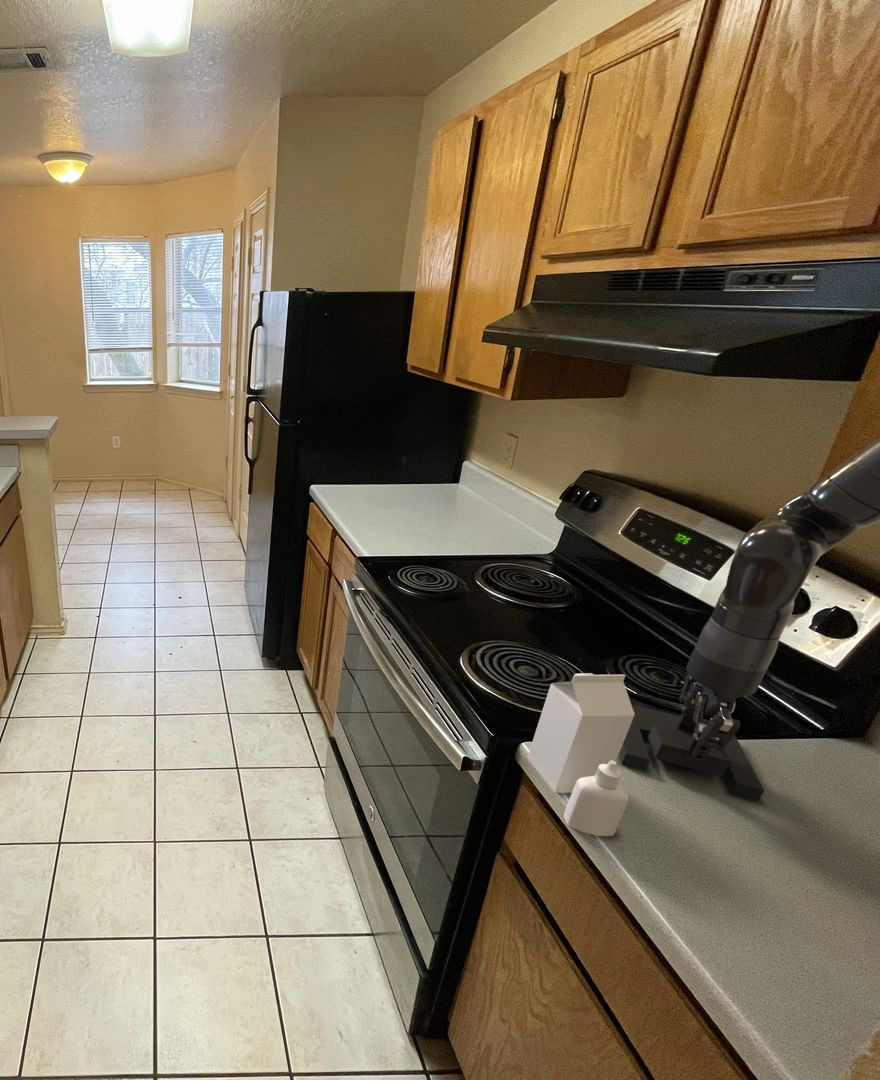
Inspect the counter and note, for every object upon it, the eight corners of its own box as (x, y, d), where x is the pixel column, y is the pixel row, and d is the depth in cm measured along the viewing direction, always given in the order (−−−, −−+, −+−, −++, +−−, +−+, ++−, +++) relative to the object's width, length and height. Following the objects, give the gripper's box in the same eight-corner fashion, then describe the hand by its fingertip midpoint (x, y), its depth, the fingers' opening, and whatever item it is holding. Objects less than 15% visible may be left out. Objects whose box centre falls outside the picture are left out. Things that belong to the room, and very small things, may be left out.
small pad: (712, 754, 90) (719, 738, 88) (723, 777, 86) (731, 761, 84) (647, 737, 93) (653, 722, 92) (654, 759, 89) (661, 743, 88)
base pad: (723, 742, 95) (731, 727, 94) (756, 805, 84) (764, 790, 83) (604, 712, 102) (610, 699, 101) (619, 768, 91) (625, 753, 89)
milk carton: (602, 796, 86) (644, 691, 78) (553, 797, 86) (591, 692, 78) (571, 759, 92) (607, 659, 85) (525, 760, 92) (557, 660, 85)
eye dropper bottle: (568, 807, 84) (592, 742, 79) (615, 831, 80) (643, 765, 76) (558, 825, 81) (583, 759, 77) (607, 851, 78) (636, 783, 73)
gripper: (789, 690, 74) (737, 790, 81) (748, 633, 86) (705, 725, 93) (713, 674, 77) (669, 771, 84) (683, 621, 89) (647, 711, 96)
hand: (688, 746), depth 89 cm, fingers closed on small pad, 5 cm apart
